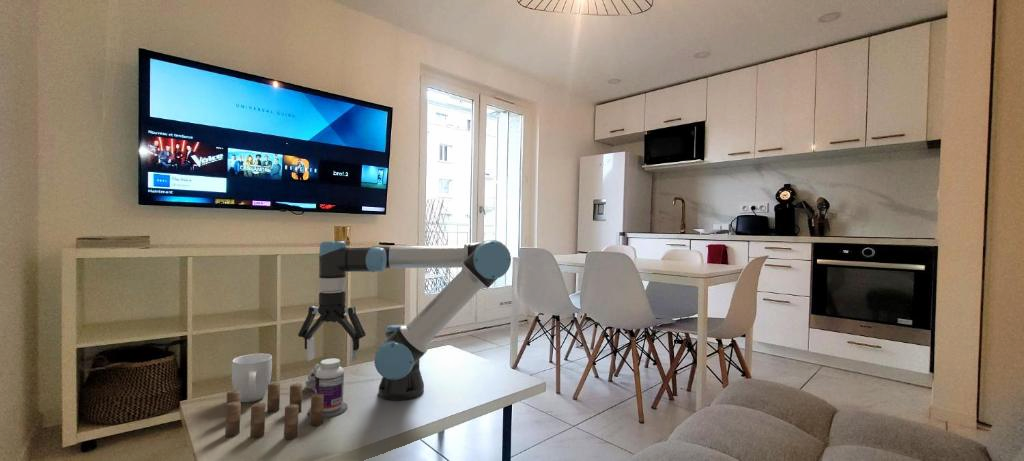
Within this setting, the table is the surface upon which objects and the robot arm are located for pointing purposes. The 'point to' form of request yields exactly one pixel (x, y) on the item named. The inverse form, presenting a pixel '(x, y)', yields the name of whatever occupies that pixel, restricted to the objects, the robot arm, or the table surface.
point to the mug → (251, 376)
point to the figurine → (312, 377)
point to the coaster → (333, 413)
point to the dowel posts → (272, 406)
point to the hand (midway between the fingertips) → (331, 360)
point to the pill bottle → (330, 384)
